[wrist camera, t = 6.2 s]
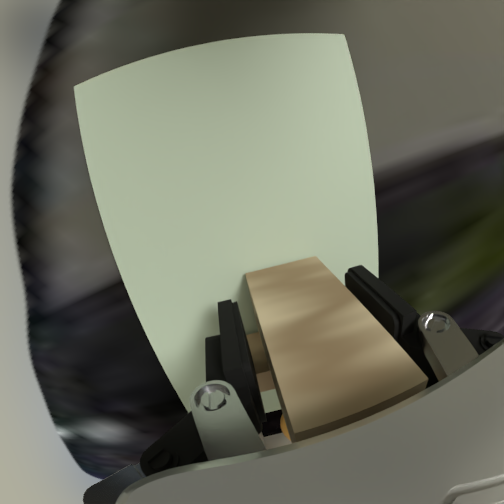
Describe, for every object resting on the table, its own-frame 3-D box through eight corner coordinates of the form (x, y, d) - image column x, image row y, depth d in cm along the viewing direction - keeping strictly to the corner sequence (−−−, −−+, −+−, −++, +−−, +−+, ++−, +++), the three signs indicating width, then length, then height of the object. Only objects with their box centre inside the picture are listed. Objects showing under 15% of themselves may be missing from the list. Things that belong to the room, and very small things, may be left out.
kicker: (335, 250, 12) (458, 360, 5) (340, 327, 14) (420, 445, 6) (222, 278, 12) (244, 444, 5) (243, 354, 14) (274, 499, 6)
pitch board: (332, 43, 11) (344, 34, 9) (363, 366, 18) (371, 378, 16) (86, 92, 10) (73, 86, 8) (196, 410, 17) (196, 425, 16)
